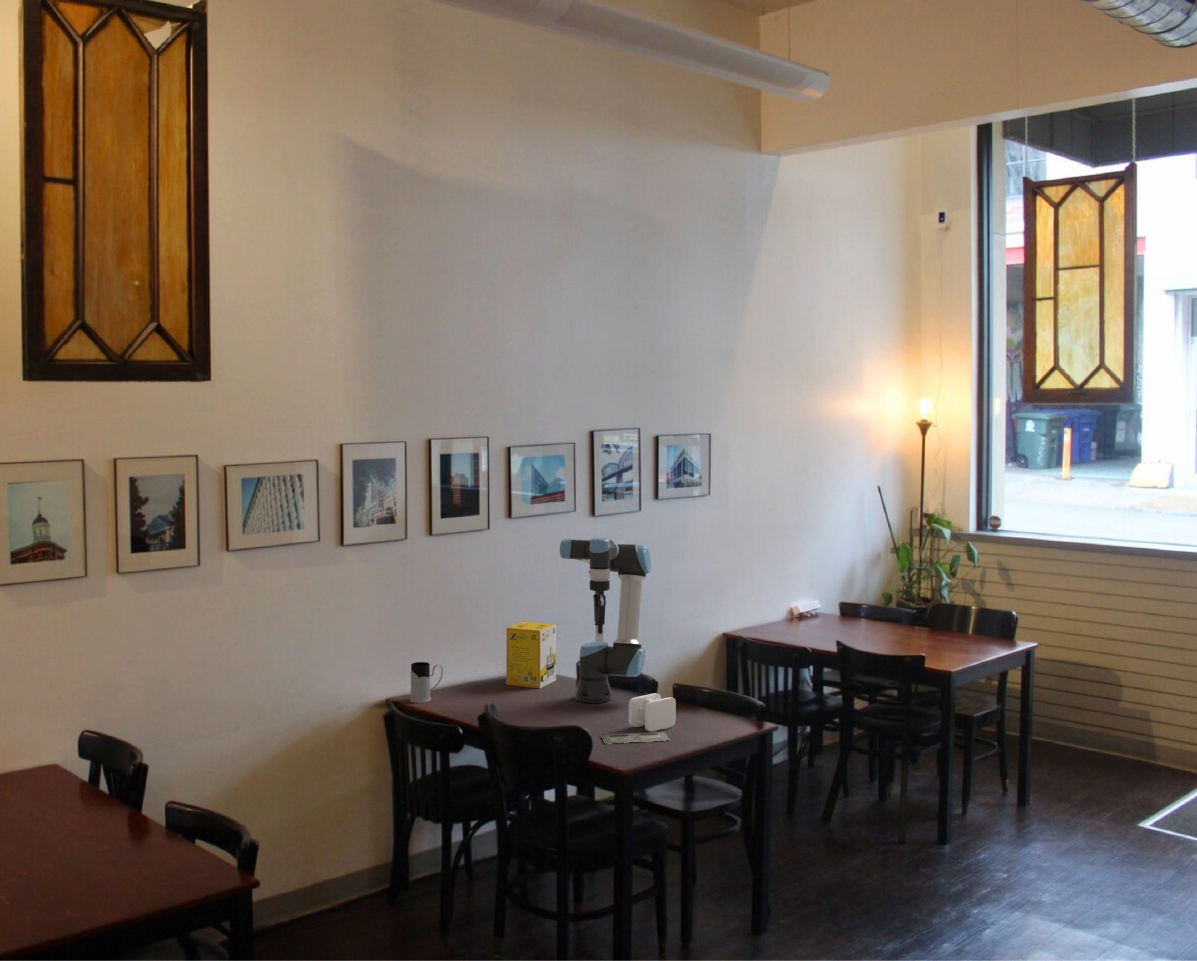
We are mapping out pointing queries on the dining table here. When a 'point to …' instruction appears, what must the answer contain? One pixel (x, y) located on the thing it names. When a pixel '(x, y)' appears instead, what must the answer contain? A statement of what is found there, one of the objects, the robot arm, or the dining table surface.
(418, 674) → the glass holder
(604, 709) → the dining table surface
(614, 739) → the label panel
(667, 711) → the cable organizer
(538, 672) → the packaging box
